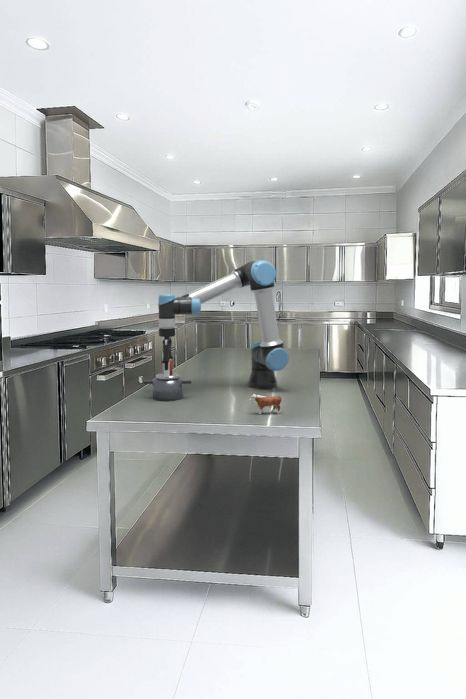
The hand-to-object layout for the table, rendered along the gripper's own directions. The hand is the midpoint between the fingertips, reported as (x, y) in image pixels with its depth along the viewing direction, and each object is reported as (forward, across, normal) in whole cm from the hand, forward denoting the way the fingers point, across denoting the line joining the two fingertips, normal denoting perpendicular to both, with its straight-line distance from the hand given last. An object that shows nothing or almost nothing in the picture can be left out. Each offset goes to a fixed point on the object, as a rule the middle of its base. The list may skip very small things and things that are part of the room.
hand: (167, 374), depth 257 cm
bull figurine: (+11, +31, +43) cm, 54 cm away
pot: (+11, 0, 0) cm, 11 cm away
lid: (+2, 0, 0) cm, 2 cm away
